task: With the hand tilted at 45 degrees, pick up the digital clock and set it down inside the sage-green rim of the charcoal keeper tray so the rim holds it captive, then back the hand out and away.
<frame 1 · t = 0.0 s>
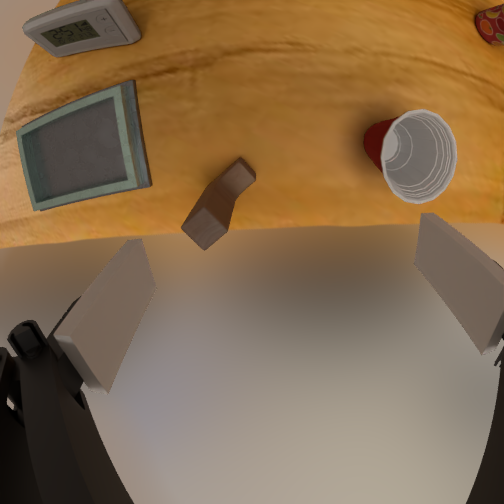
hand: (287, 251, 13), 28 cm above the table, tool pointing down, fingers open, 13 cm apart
digital clock: (98, 34, 28), on the table
smoothie: (485, 29, 24), on the table
plastic cup: (381, 143, 36), on the table
keeper tray: (79, 150, 37), on the table
wooden block: (231, 180, 39), on the table
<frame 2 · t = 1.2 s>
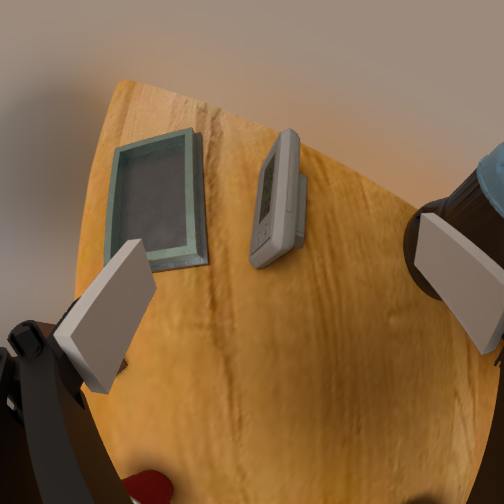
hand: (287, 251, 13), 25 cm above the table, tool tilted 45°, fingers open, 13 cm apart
digital clock: (275, 217, 41), on the table
plastic cup: (156, 484, 31), on the table
keeper tray: (156, 201, 44), on the table
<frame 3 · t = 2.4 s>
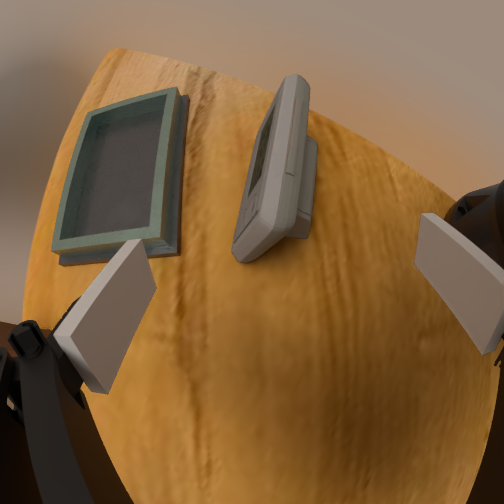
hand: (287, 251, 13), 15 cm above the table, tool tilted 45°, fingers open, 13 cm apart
digital clock: (272, 196, 30), on the table
keeper tray: (124, 173, 33), on the table
wooden block: (56, 359, 27), on the table
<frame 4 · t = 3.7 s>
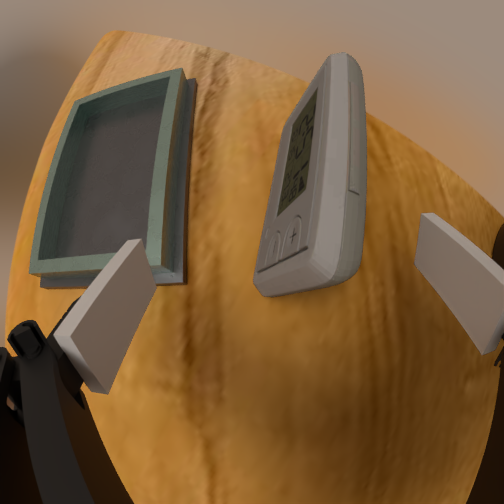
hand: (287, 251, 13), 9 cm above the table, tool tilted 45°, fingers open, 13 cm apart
digital clock: (303, 207, 24), on the table
keeper tray: (117, 174, 26), on the table
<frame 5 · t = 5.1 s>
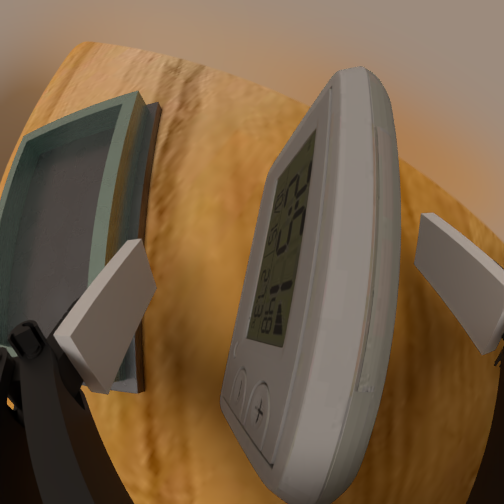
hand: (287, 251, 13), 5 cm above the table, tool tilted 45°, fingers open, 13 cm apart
digital clock: (292, 293, 17), on the table
keeper tray: (64, 235, 20), on the table
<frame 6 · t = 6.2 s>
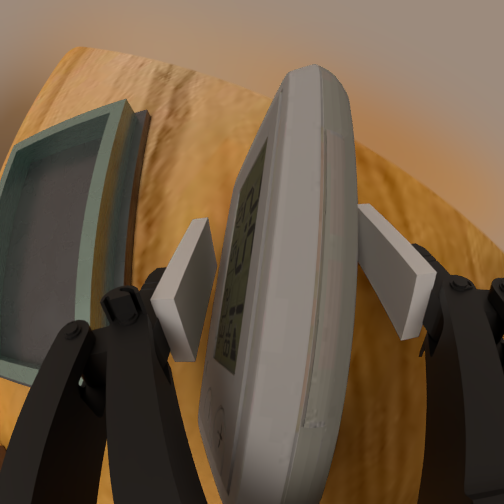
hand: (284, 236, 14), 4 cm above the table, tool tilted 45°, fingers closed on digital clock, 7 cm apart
digital clock: (266, 306, 17), on the table, touching gripper
keeper tray: (54, 247, 19), on the table
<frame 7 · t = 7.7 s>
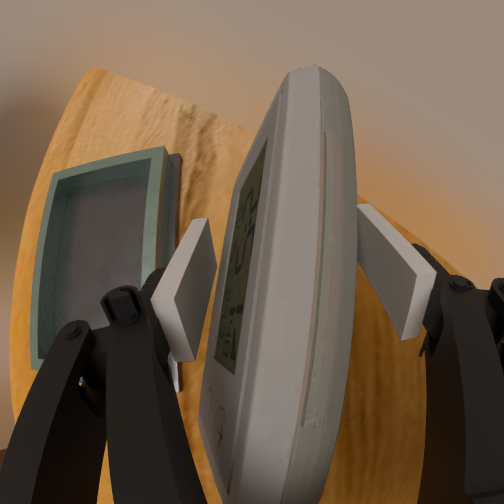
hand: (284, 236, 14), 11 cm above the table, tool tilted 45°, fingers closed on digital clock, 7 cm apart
digital clock: (266, 306, 17), point 7 cm above the table, touching gripper
keeper tray: (104, 268, 26), on the table
when the fingers open (5 cm above the table, at t = 13.3 s): digital clock stays where it is, resting on keeper tray.
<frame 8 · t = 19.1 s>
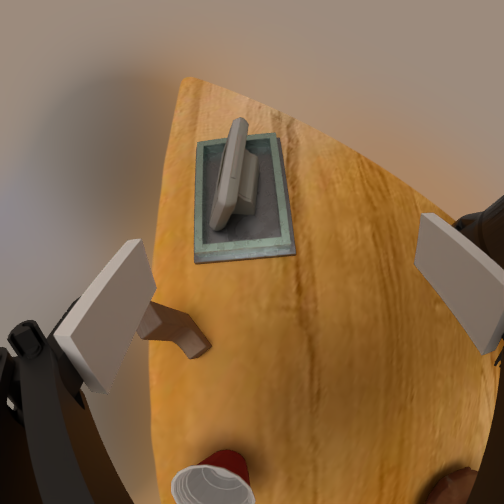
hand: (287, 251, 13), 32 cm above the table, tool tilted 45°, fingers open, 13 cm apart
digital clock: (233, 191, 49), point 1 cm above the table, touching keeper tray
plastic cup: (227, 464, 36), on the table
keeper tray: (241, 196, 49), on the table
wooden block: (192, 335, 43), on the table
butternut squash: (439, 490, 29), on the table
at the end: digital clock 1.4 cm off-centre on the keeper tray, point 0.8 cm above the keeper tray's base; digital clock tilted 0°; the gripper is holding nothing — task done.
